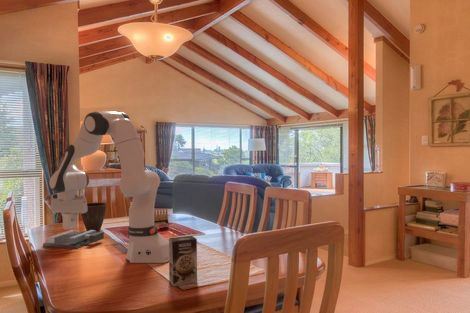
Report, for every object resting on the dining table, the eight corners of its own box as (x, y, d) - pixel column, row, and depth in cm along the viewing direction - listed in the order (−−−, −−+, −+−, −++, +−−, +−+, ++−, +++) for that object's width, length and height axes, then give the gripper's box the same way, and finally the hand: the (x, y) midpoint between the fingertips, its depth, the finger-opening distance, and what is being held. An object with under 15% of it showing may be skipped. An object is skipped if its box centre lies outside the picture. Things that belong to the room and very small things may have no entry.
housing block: (76, 226, 193) (75, 212, 193) (68, 229, 187) (68, 214, 187) (70, 226, 194) (70, 211, 194) (62, 229, 188) (62, 213, 188)
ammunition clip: (151, 229, 218) (151, 210, 217) (150, 229, 219) (150, 209, 219) (168, 227, 222) (168, 208, 222) (167, 227, 224) (167, 208, 224)
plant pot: (97, 227, 228) (97, 201, 227) (112, 229, 219) (111, 203, 218) (75, 231, 215) (74, 205, 215) (89, 234, 207) (88, 207, 206)
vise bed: (101, 238, 198) (101, 230, 198) (77, 248, 178) (76, 239, 178) (70, 236, 203) (69, 228, 202) (43, 246, 183) (42, 237, 183)
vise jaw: (109, 236, 195) (109, 229, 195) (88, 245, 178) (88, 238, 178) (91, 235, 198) (91, 229, 198) (68, 243, 181) (68, 237, 180)
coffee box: (173, 287, 127) (172, 241, 126) (169, 281, 133) (168, 237, 132) (198, 282, 130) (197, 238, 130) (192, 277, 136) (192, 234, 136)
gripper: (89, 194, 191) (90, 220, 191) (57, 193, 196) (57, 219, 196) (82, 196, 185) (82, 223, 185) (48, 195, 190) (49, 221, 190)
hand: (69, 221), depth 191 cm, fingers closed on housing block, 3 cm apart
